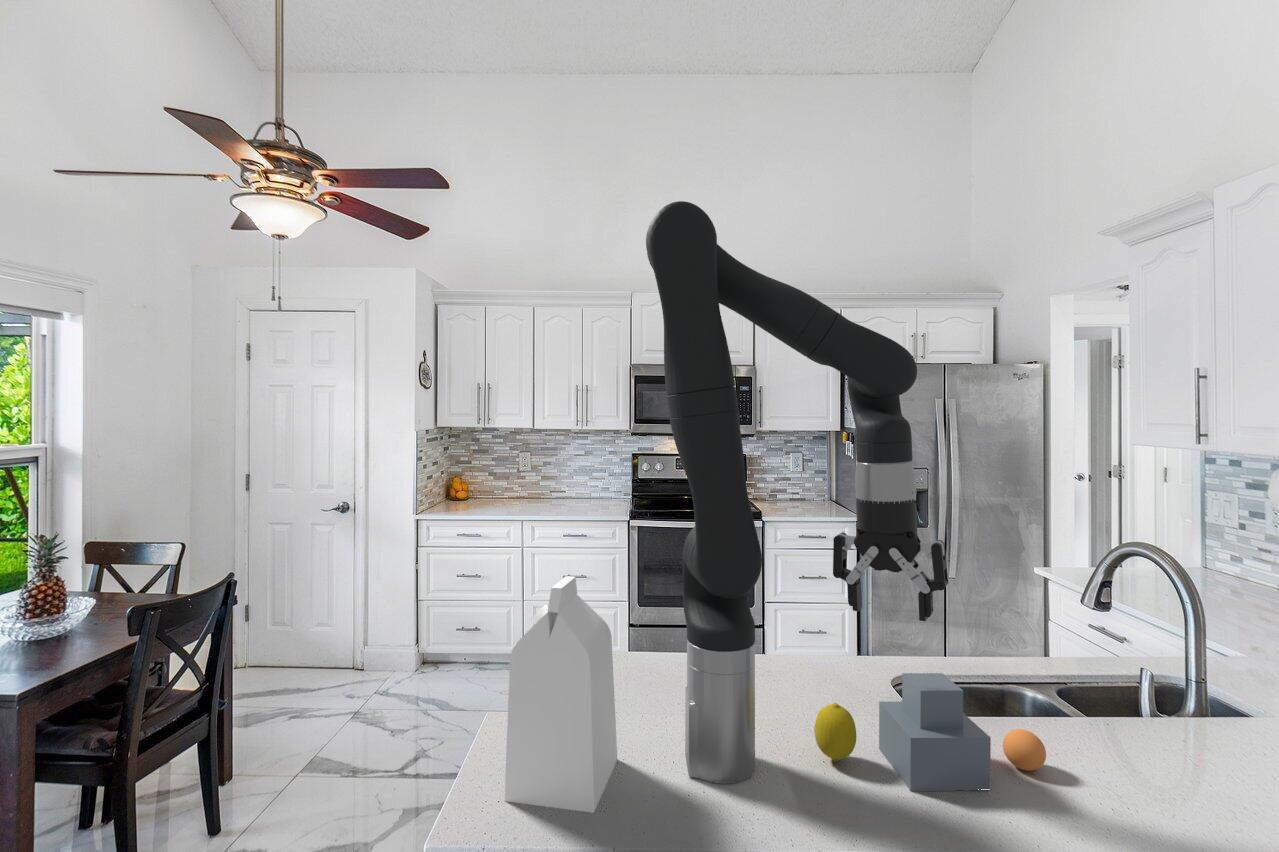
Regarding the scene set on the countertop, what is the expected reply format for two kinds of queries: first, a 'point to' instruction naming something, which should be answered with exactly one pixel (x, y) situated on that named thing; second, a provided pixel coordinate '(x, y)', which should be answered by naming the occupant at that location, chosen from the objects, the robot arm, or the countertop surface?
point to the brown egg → (1024, 749)
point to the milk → (561, 707)
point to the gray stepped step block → (933, 737)
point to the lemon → (835, 732)
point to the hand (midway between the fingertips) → (889, 614)
